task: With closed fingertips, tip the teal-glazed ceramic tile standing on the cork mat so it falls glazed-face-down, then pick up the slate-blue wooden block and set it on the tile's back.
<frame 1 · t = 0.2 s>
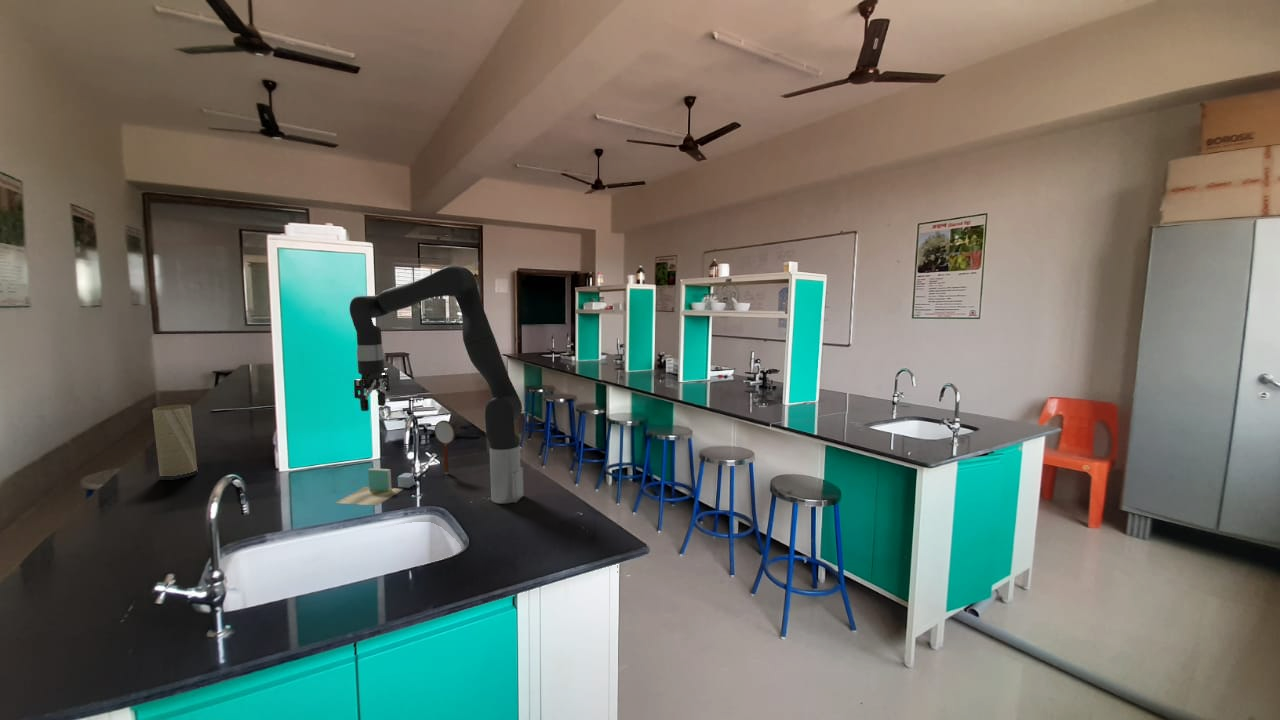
hand: (373, 408, 168), 28 cm above the table, tool pointing down, fingers open, 8 cm apart
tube: (179, 476, 185), on the table
tile: (380, 490, 170), resting on cork mat
block: (407, 486, 175), on the table
magnifying glass: (446, 475, 186), on the table
cork mat: (370, 496, 165), on the table
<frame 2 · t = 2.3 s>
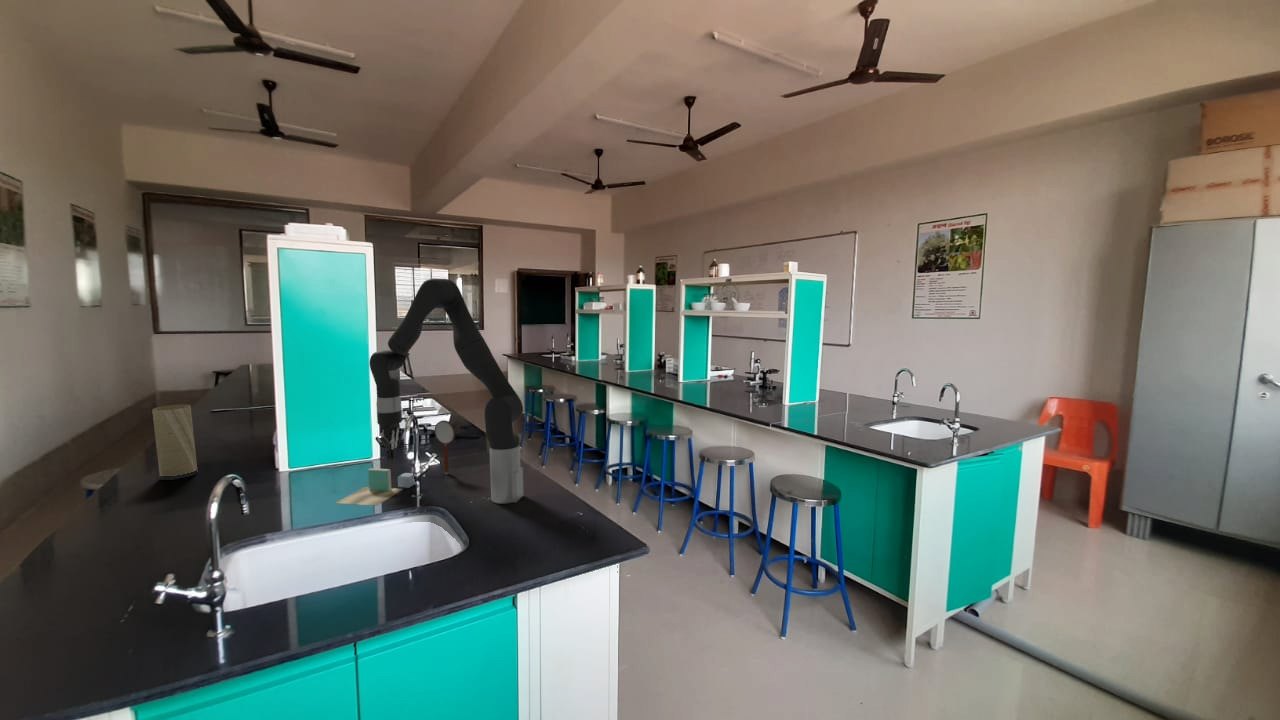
hand: (391, 459, 176), 9 cm above the table, tool pointing down, fingers closed
nothing on the table moved.
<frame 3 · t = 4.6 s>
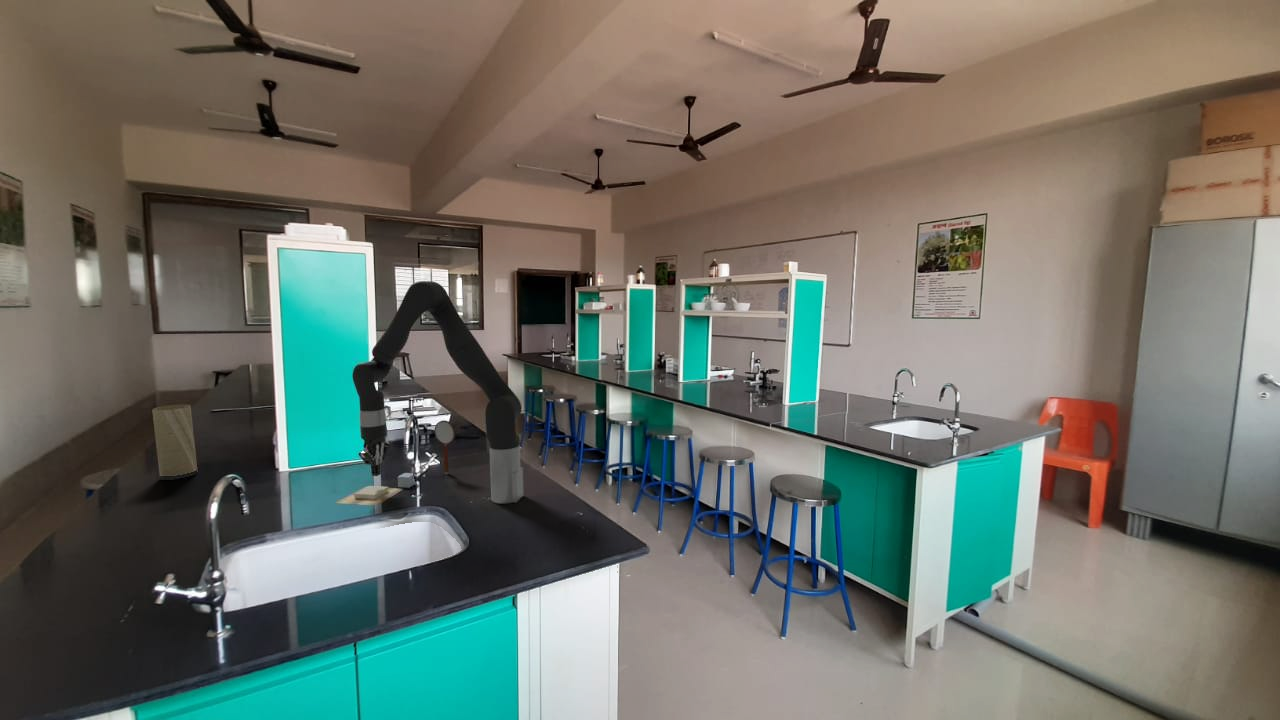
hand: (376, 475, 168), 6 cm above the table, tool pointing down, fingers closed
tile: (378, 488, 169), point 1 cm above the table, tilted 90°, touching cork mat
everything else where it was.
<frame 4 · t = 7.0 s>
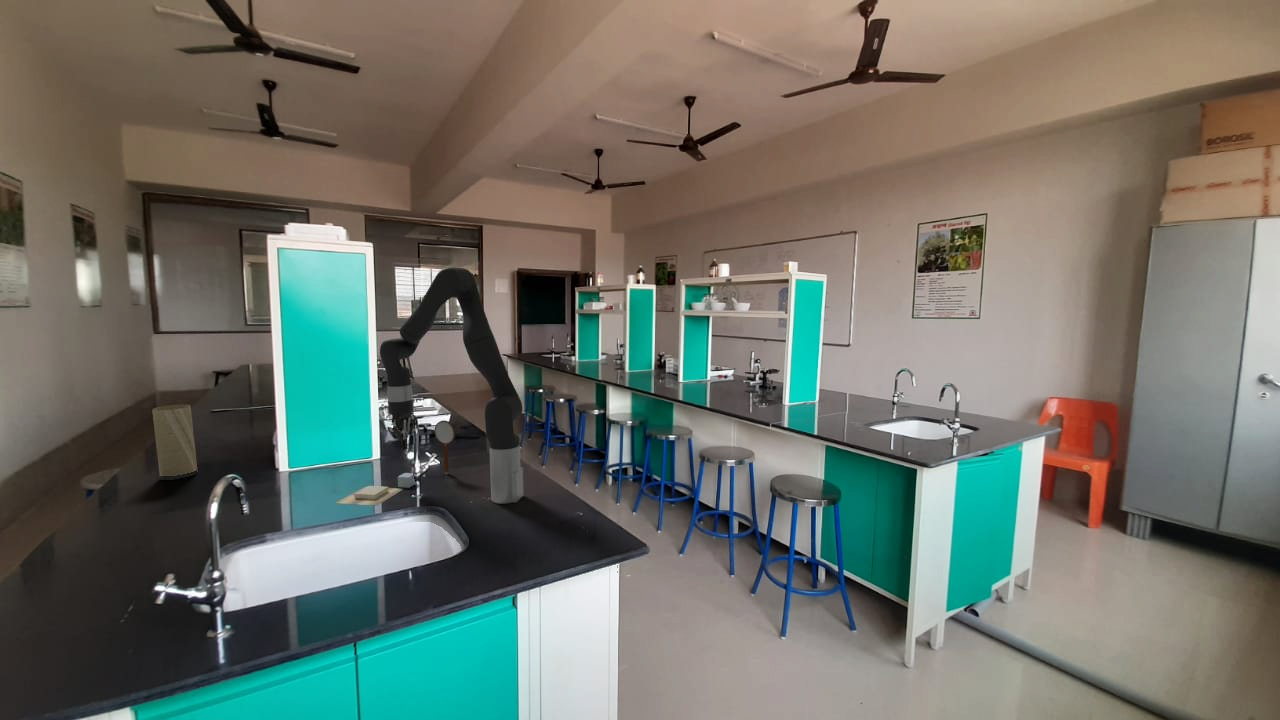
hand: (403, 449, 172), 13 cm above the table, tool pointing down, fingers closed
nothing on the table moved.
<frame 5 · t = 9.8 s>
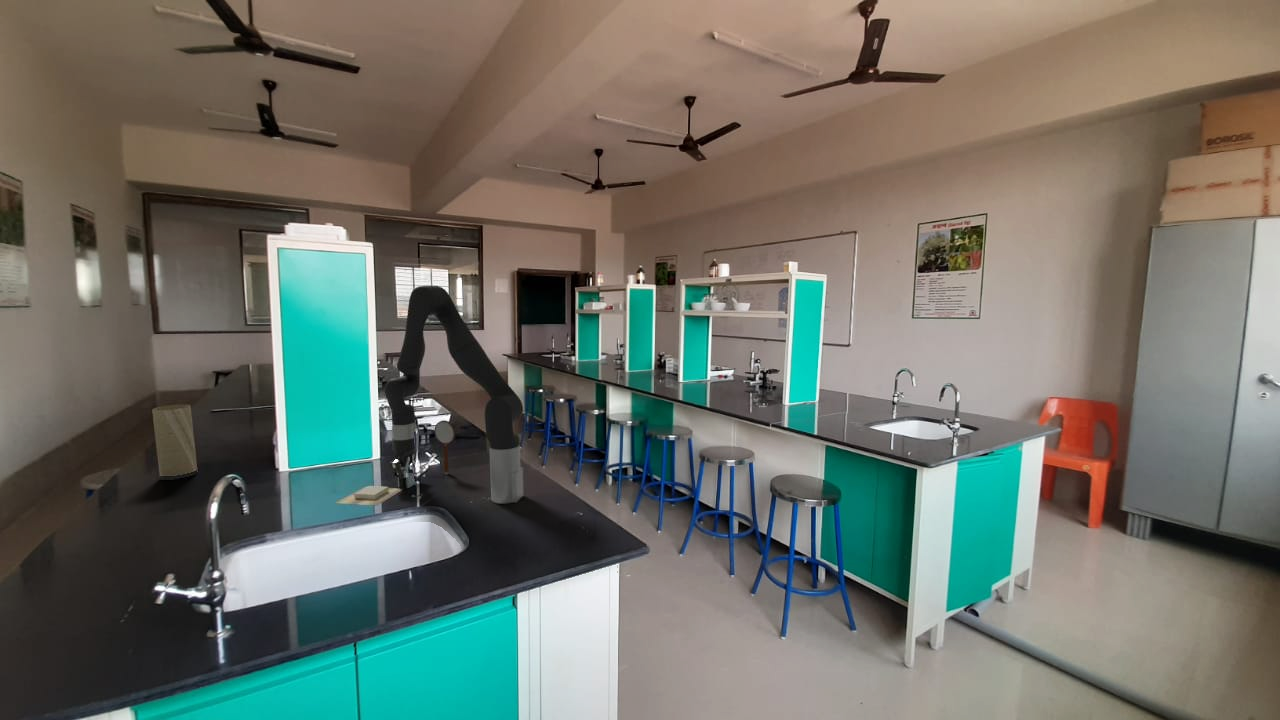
hand: (407, 485, 175), 0 cm above the table, tool pointing down, fingers closed on block, 4 cm apart
block: (407, 486, 175), on the table, touching gripper
everything else where it was.
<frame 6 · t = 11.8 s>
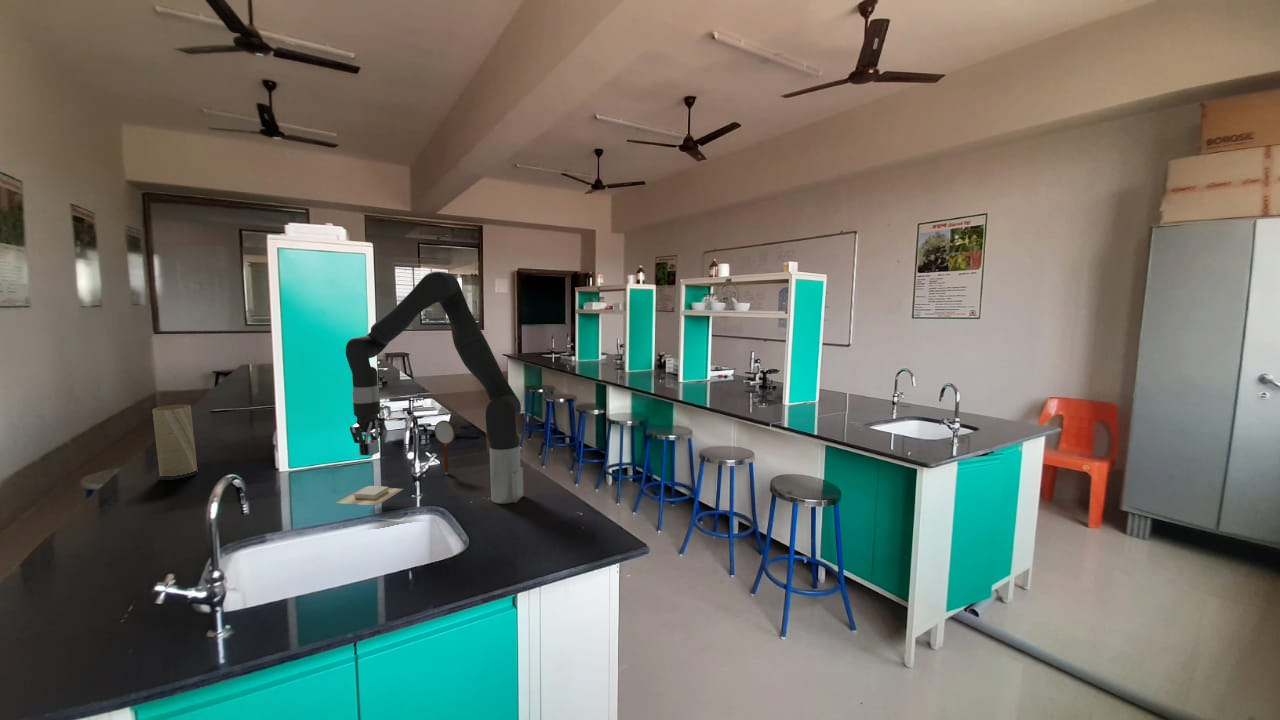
hand: (369, 452, 165), 14 cm above the table, tool pointing down, fingers closed on block, 4 cm apart
block: (369, 453, 165), point 14 cm above the table, touching gripper
everything else where it was.
when the fingers open (4 cm above the table, at t = 14.1 s): block drops 1 cm, resting on tile.
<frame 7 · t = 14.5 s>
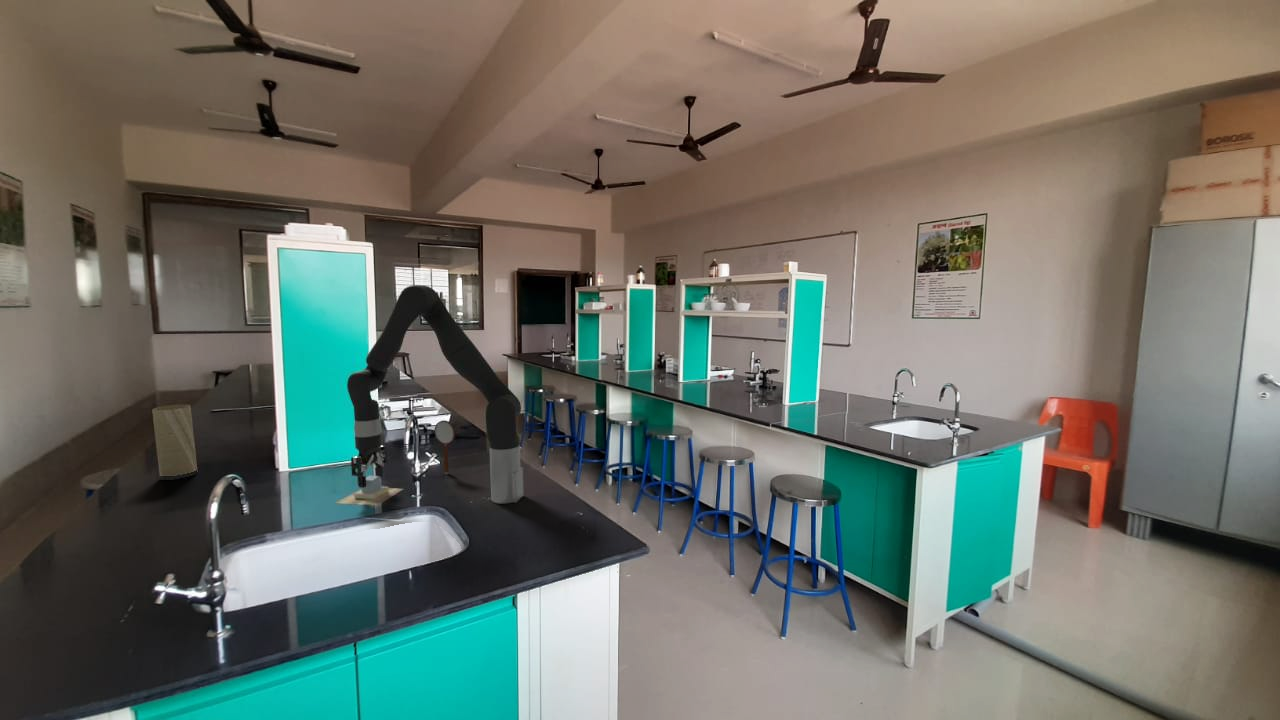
hand: (371, 482, 165), 5 cm above the table, tool pointing down, fingers open, 8 cm apart
tile: (378, 488, 169), point 1 cm above the table, tilted 90°, touching block, cork mat
block: (371, 490, 166), point 2 cm above the table, touching tile
everything else where it was.
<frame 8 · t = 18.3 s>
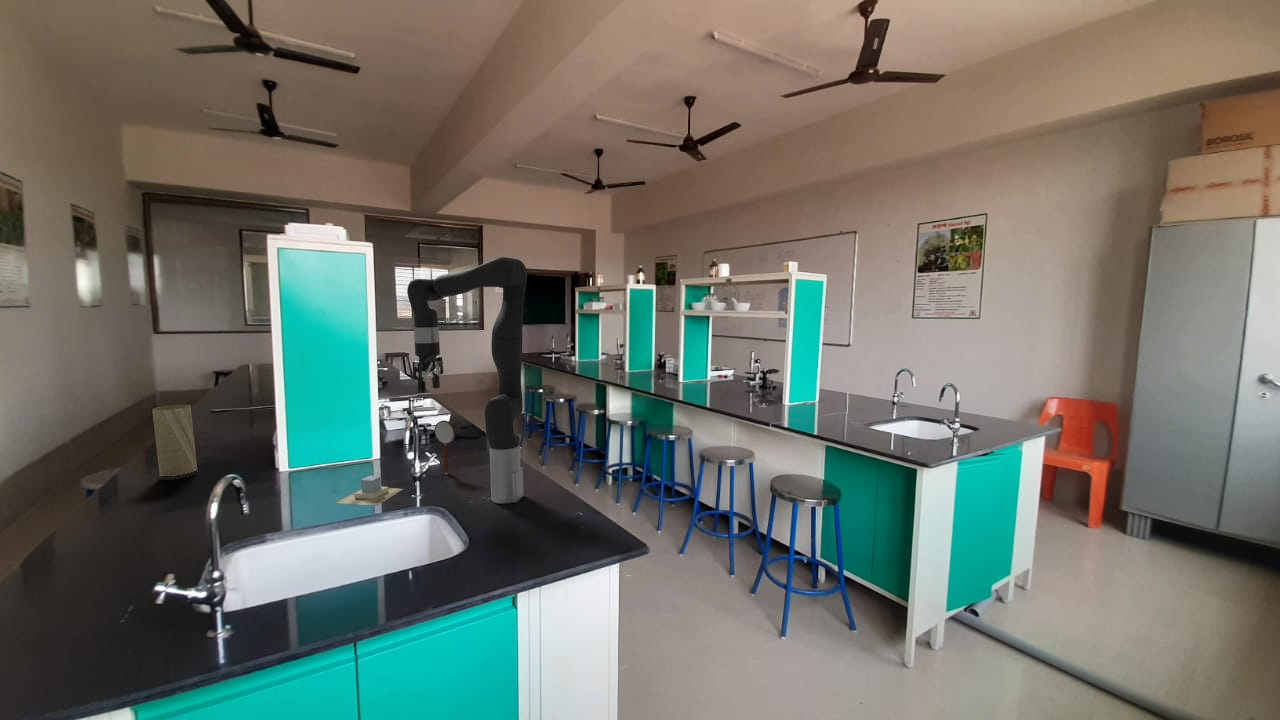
hand: (429, 390, 170), 33 cm above the table, tool pointing down, fingers open, 8 cm apart
nothing on the table moved.
at the end: tile tilted 90°; tile inside the target area (4.1 cm from its centre), point 1.3 cm above the table; block inside the target area on the table beside the tile (0.1 cm from its centre), point 0.7 cm above the table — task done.
